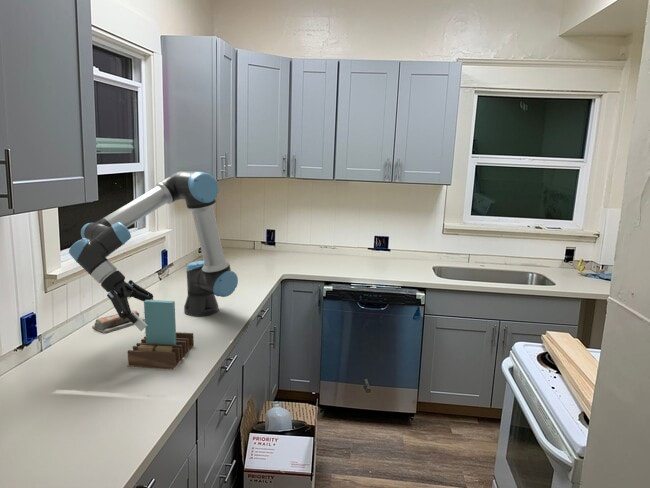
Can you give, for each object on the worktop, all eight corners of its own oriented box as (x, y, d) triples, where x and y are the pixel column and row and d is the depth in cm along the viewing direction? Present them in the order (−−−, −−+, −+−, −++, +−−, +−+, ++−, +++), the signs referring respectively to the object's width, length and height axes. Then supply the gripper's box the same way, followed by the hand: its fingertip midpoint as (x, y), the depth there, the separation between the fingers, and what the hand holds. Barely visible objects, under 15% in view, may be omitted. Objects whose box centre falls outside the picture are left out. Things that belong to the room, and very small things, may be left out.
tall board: (149, 353, 168) (146, 299, 164) (176, 355, 167) (174, 301, 163) (146, 356, 166) (143, 301, 162) (174, 357, 165) (172, 302, 161)
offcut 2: (158, 362, 161) (157, 345, 160) (172, 363, 161) (172, 346, 160) (155, 364, 159) (155, 348, 158) (170, 365, 159) (169, 348, 158)
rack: (151, 346, 177) (151, 331, 176) (193, 348, 176) (193, 333, 174) (126, 369, 158) (125, 352, 157) (173, 372, 157) (172, 355, 156)
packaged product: (104, 323, 187) (91, 317, 193) (104, 334, 188) (91, 329, 194) (144, 311, 201) (131, 306, 207) (145, 322, 202) (132, 317, 208)
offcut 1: (141, 361, 162) (140, 344, 161) (155, 362, 162) (154, 345, 160) (138, 363, 160) (137, 347, 159) (153, 364, 160) (152, 348, 158)
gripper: (120, 274, 175) (161, 315, 176) (80, 294, 150) (128, 342, 152) (133, 261, 173) (174, 302, 175) (95, 279, 149) (143, 327, 151)
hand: (153, 321), depth 163 cm, fingers open, 13 cm apart
